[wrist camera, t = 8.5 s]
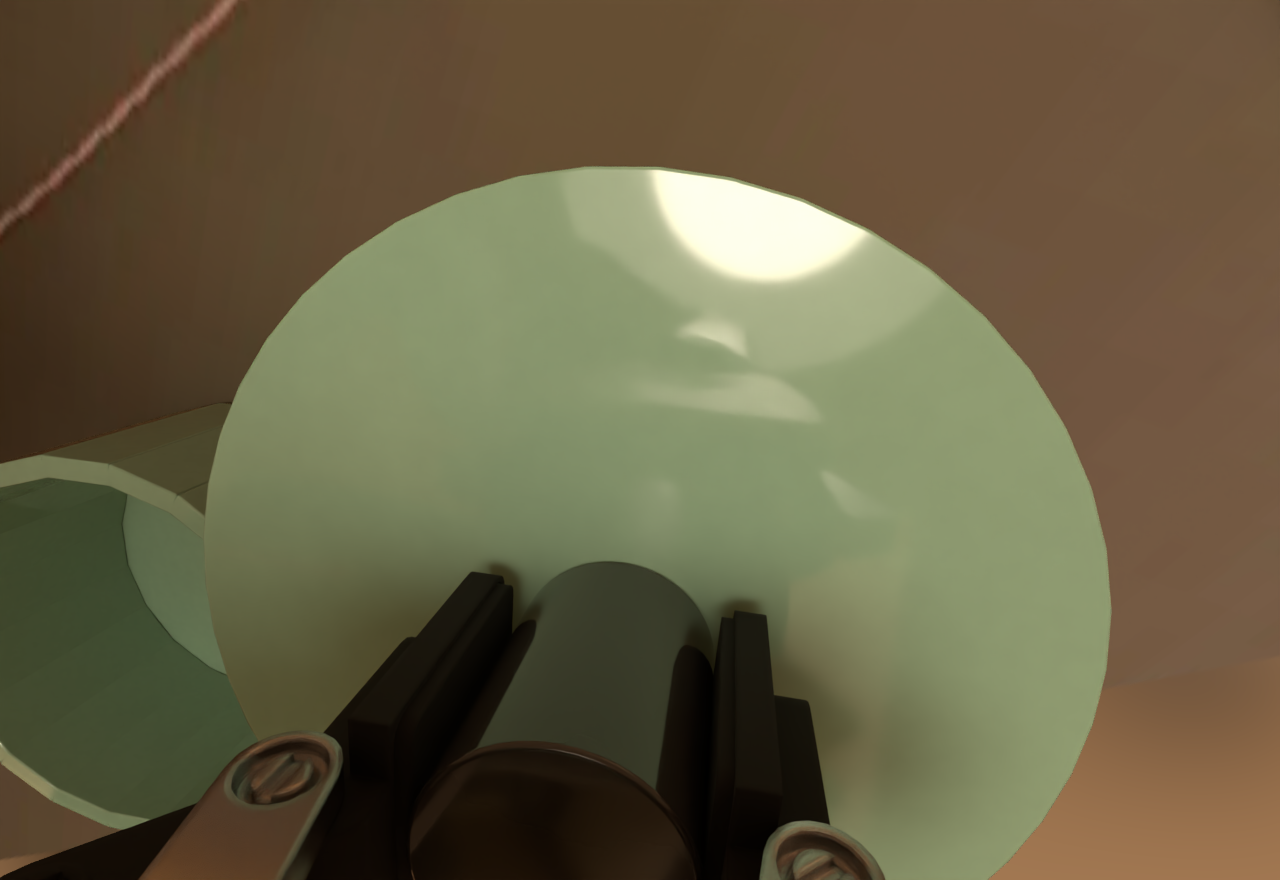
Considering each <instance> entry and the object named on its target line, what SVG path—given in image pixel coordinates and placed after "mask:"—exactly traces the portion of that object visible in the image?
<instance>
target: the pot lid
mask: <svg viewBox="0 0 1280 880" xmlns="http://www.w3.org/2000/svg"><path fill="white" fill-rule="evenodd" d="M203 539H204V561H205V584H206V590H207V595H208V601H209V607H210V612H211V618H212V624H213V629H214V634H215V637H216V640H217V644H218V647H219V650H220V653H221V657H222V660H223V663H224V666H225V670H226V673H227V676H228V679H229V681H230V684H231V686H232V688H233V691H234V693H235V695H236V697H237V700H238V702H239V704H240V706H241V709H242V711H243V713H244V715H245V718H246V720H247V722H248V724H249V726H250V727H251V729H252V731H253V733H254V734H255V736H256V738H257V739H258V741H260V740H263V739H265V738H267V737H270V736H272V735H276V734H280V733H284V732H289V731H300V730H310V731H316V732H322V733H323V732H324V731H325V730H326V729H327V728H328V726H329V725H330V724H331V723H332V722H333V721H334V720H335V718H336V717H337V716H338V715H339V714H340V713H341V711H342V710H343V709H344V708H345V707H346V706H347V704H348V703H349V702H350V701H351V700H352V699H353V697H354V696H355V695H356V694H357V693H358V692H359V691H360V689H361V688H362V687H363V686H364V685H365V684H366V682H367V681H368V680H369V679H370V678H371V677H372V675H373V674H374V673H375V672H376V671H377V670H378V669H379V667H380V666H381V665H382V664H383V663H384V662H385V660H386V659H387V658H388V657H389V656H390V655H391V653H392V652H393V651H394V650H395V649H396V648H397V647H398V645H399V644H400V643H401V642H402V641H403V640H404V639H406V638H407V637H416V636H417V635H418V634H419V633H420V632H421V630H422V629H423V628H424V627H425V626H426V624H427V623H428V622H429V621H430V620H431V618H432V617H433V616H434V615H435V614H436V612H437V611H438V610H439V609H440V608H441V606H442V605H443V604H444V603H445V602H446V600H447V599H448V598H449V597H450V596H451V594H452V593H453V592H454V591H455V590H456V589H457V587H458V586H459V585H460V584H461V583H462V581H463V580H464V579H465V578H466V577H467V575H468V574H469V573H470V572H480V573H487V574H494V575H500V576H503V578H504V582H505V584H506V585H512V587H513V594H514V595H513V622H512V635H511V637H510V638H509V640H508V642H507V644H506V645H505V647H504V649H503V650H502V652H501V654H500V655H499V657H498V659H497V661H496V662H495V664H494V666H493V667H492V669H491V671H490V672H489V674H488V676H487V678H486V679H485V681H484V683H483V684H482V686H481V688H480V689H479V691H478V693H477V695H476V696H475V698H474V700H473V701H472V703H471V705H470V706H469V708H468V710H467V712H466V713H465V715H464V717H463V718H462V720H461V722H460V723H459V725H458V727H457V729H456V730H455V732H454V734H453V735H452V737H451V739H450V740H449V742H448V744H447V746H446V747H445V749H444V751H443V752H442V754H441V756H440V757H439V759H438V761H437V763H436V764H435V766H434V768H433V769H432V771H431V773H430V775H429V776H428V778H427V780H426V781H425V783H424V785H423V786H422V788H421V790H420V792H419V793H418V795H417V797H416V799H415V801H414V804H413V806H412V809H411V811H410V816H409V820H408V824H407V837H406V850H407V860H408V864H409V868H410V872H411V876H412V878H413V880H704V858H705V837H706V817H707V796H708V776H709V755H710V734H711V714H712V693H713V674H714V667H715V660H716V652H717V645H718V638H719V631H720V624H721V618H722V617H727V618H733V616H734V611H735V610H737V611H743V612H750V613H757V614H763V615H766V616H767V624H768V635H769V646H770V657H771V668H772V679H773V690H774V695H778V696H784V697H790V698H796V699H802V700H807V701H808V702H809V705H810V709H811V715H812V721H813V727H814V733H815V738H816V744H817V750H818V756H819V762H820V768H821V774H822V780H823V786H824V791H825V797H826V803H827V809H828V815H829V821H830V826H833V827H835V828H837V829H840V830H842V831H844V832H846V833H847V834H849V835H850V836H851V837H853V838H854V839H856V840H857V841H859V842H860V843H861V844H862V845H863V846H864V847H865V848H866V849H867V850H868V851H869V852H870V854H871V855H872V856H873V857H874V858H875V859H876V861H877V863H878V865H879V866H880V868H881V870H882V872H883V873H884V876H885V880H988V879H989V878H990V877H992V876H993V875H994V874H995V873H996V872H997V871H998V870H999V869H1000V868H1001V867H1003V866H1004V865H1005V864H1006V863H1007V862H1008V861H1009V860H1010V859H1011V858H1012V857H1013V855H1014V854H1015V853H1016V852H1017V851H1018V850H1019V848H1020V847H1021V846H1022V845H1023V844H1024V842H1025V841H1026V840H1027V839H1028V838H1029V837H1030V835H1031V834H1032V833H1033V832H1034V831H1035V829H1036V828H1037V827H1038V826H1039V824H1040V823H1041V822H1042V821H1043V820H1044V818H1045V816H1046V815H1047V813H1048V811H1049V810H1050V808H1051V807H1052V805H1053V804H1054V802H1055V800H1056V799H1057V797H1058V795H1059V794H1060V792H1061V791H1062V789H1063V787H1064V786H1065V784H1066V782H1067V781H1068V779H1069V778H1070V776H1071V774H1072V772H1073V770H1074V767H1075V765H1076V762H1077V760H1078V758H1079V755H1080V753H1081V751H1082V748H1083V746H1084V744H1085V741H1086V739H1087V737H1088V734H1089V732H1090V730H1091V727H1092V725H1093V721H1094V717H1095V713H1096V709H1097V705H1098V701H1099V697H1100V693H1101V689H1102V685H1103V681H1104V677H1105V673H1106V669H1107V658H1108V646H1109V634H1110V622H1111V599H1110V586H1109V573H1108V560H1107V549H1106V545H1105V541H1104V537H1103V533H1102V529H1101V524H1100V520H1099V516H1098V512H1097V508H1096V504H1095V500H1094V496H1093V492H1092V488H1091V485H1090V483H1089V480H1088V478H1087V476H1086V473H1085V471H1084V469H1083V466H1082V464H1081V461H1080V459H1079V457H1078V454H1077V452H1076V450H1075V447H1074V445H1073V442H1072V440H1071V438H1070V435H1069V433H1068V430H1067V428H1066V426H1065V425H1064V423H1063V421H1062V420H1061V418H1060V417H1059V415H1058V413H1057V412H1056V410H1055V408H1054V407H1053V405H1052V404H1051V402H1050V400H1049V399H1048V397H1047V395H1046V394H1045V392H1044V391H1043V389H1042V387H1041V386H1040V384H1039V382H1038V381H1037V379H1036V378H1035V376H1034V374H1033V373H1032V371H1031V370H1030V368H1029V367H1028V366H1027V365H1026V364H1025V362H1024V361H1023V360H1022V359H1021V358H1020V357H1019V355H1018V354H1017V353H1016V352H1015V351H1014V350H1013V348H1012V347H1011V346H1010V345H1009V344H1008V342H1007V341H1006V340H1005V339H1004V338H1003V337H1002V335H1001V334H1000V333H999V332H998V331H997V330H996V328H995V327H994V326H993V325H992V324H991V322H990V321H989V320H988V319H987V318H986V317H985V316H984V315H983V314H982V313H981V312H980V311H979V310H978V309H976V308H975V307H974V306H973V305H972V304H971V303H970V302H968V301H967V300H966V299H965V298H964V297H963V296H962V295H960V294H959V293H958V292H957V291H956V290H955V289H953V288H952V287H951V286H950V285H949V284H948V283H947V282H945V281H944V280H943V279H942V278H941V277H940V276H939V275H937V274H936V273H935V272H934V271H933V270H932V269H931V268H929V267H927V266H926V265H924V264H923V263H921V262H920V261H918V260H917V259H915V258H914V257H912V256H910V255H909V254H907V253H906V252H904V251H903V250H901V249H900V248H898V247H896V246H895V245H893V244H892V243H890V242H889V241H887V240H886V239H884V238H883V237H881V236H879V235H878V234H876V233H875V232H873V231H872V230H870V229H868V228H866V227H864V226H862V225H860V224H857V223H855V222H853V221H851V220H849V219H847V218H844V217H842V216H840V215H838V214H836V213H833V212H831V211H829V210H827V209H825V208H823V207H820V206H818V205H816V204H814V203H812V202H809V201H807V200H805V199H803V198H800V197H797V196H793V195H790V194H787V193H783V192H780V191H777V190H773V189H770V188H766V187H763V186H760V185H756V184H753V183H750V182H746V181H743V180H740V179H736V178H733V177H728V176H721V175H714V174H707V173H701V172H694V171H687V170H680V169H674V168H667V167H660V166H585V167H577V168H570V169H563V170H556V171H549V172H541V173H534V174H527V175H520V176H516V177H513V178H510V179H506V180H503V181H499V182H496V183H492V184H489V185H486V186H482V187H479V188H475V189H472V190H468V191H465V192H462V193H458V194H455V195H453V196H451V197H449V198H447V199H444V200H442V201H440V202H438V203H436V204H434V205H431V206H429V207H427V208H425V209H423V210H421V211H418V212H416V213H414V214H412V215H410V216H408V217H405V218H403V219H401V220H399V221H397V222H396V223H394V224H392V225H391V226H389V227H388V228H386V229H385V230H383V231H382V232H380V233H379V234H377V235H376V236H374V237H373V238H371V239H370V240H368V241H367V242H365V243H364V244H362V245H361V246H359V247H358V248H356V249H355V250H353V251H352V252H350V253H349V254H347V255H346V256H345V257H344V258H343V259H341V260H340V261H339V262H338V263H337V264H336V265H335V266H334V267H333V268H331V269H330V270H329V271H328V272H327V273H326V274H325V275H324V276H323V277H322V278H320V279H319V280H318V281H317V282H316V283H315V284H314V285H313V286H312V287H310V288H309V289H308V290H307V291H306V292H305V293H304V294H303V295H302V296H301V297H300V299H299V300H298V301H297V302H296V303H295V305H294V306H293V307H292V308H291V310H290V311H289V312H288V313H287V315H286V316H285V317H284V318H283V319H282V321H281V322H280V323H279V324H278V326H277V327H276V328H275V329H274V331H273V332H272V333H271V334H270V335H269V337H268V338H267V339H266V341H265V343H264V344H263V346H262V348H261V350H260V351H259V353H258V355H257V356H256V358H255V360H254V361H253V363H252V365H251V367H250V368H249V370H248V372H247V373H246V375H245V377H244V379H243V380H242V382H241V384H240V385H239V388H238V390H237V393H236V395H235V398H234V400H233V403H232V405H231V408H230V410H229V413H228V415H227V418H226V420H225V423H224V425H223V428H222V430H221V433H220V436H219V440H218V444H217V448H216V453H215V457H214V461H213V465H212V469H211V474H210V478H209V482H208V489H207V500H206V511H205V522H204V533H203Z"/></svg>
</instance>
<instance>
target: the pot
mask: <svg viewBox="0 0 1280 880" xmlns="http://www.w3.org/2000/svg"><path fill="white" fill-rule="evenodd" d="M231 405H232V403H216V404H211V405H207V406H203V407H199V408H194V409H190V410H186V411H181V412H177V413H173V414H169V415H165V416H162V417H158V418H155V419H151V420H148V421H144V422H141V423H137V424H134V425H130V426H127V427H123V428H120V429H116V430H113V431H109V432H106V433H102V434H99V435H95V436H92V437H88V438H85V439H81V440H78V441H74V442H70V443H67V444H63V445H60V446H56V447H53V448H49V449H46V450H42V451H39V452H35V453H32V454H28V455H25V456H21V457H18V458H14V459H11V460H7V461H4V462H0V762H1V764H2V765H3V766H4V767H6V768H7V769H9V770H10V771H11V772H13V773H14V774H15V775H17V776H18V777H19V778H21V779H22V780H23V781H25V782H26V783H28V784H29V785H30V786H32V787H33V788H34V789H36V790H37V791H38V792H40V793H41V794H42V795H44V796H45V797H46V798H48V799H49V800H52V801H53V802H54V803H56V804H59V805H61V806H63V807H65V808H68V809H70V810H72V811H74V812H76V813H79V814H81V815H83V816H85V817H87V818H90V819H92V820H94V821H96V822H98V823H101V824H103V825H105V826H109V827H111V828H116V829H121V830H124V829H127V828H129V827H132V826H135V825H138V824H140V823H143V822H146V821H149V820H151V819H154V818H157V817H160V816H162V815H165V814H168V813H171V812H173V811H176V810H179V809H182V808H184V807H187V806H190V805H193V804H195V803H198V801H199V800H200V799H201V797H202V796H203V795H204V794H205V792H206V791H207V790H208V788H209V787H210V786H211V784H212V783H213V782H214V781H215V779H216V778H217V777H218V775H219V774H220V773H221V771H222V770H223V769H224V768H225V766H226V765H227V764H228V763H229V762H230V761H231V760H232V759H233V758H234V757H235V756H236V755H237V754H238V753H240V752H241V751H243V750H245V749H246V748H248V747H249V746H251V745H252V744H254V743H256V742H258V739H257V738H256V736H255V734H254V733H253V731H252V729H251V727H250V726H249V724H248V722H247V720H246V718H245V715H244V713H243V711H242V709H241V706H240V704H239V702H238V700H237V697H236V695H235V693H234V691H233V688H232V686H231V684H230V681H229V679H228V676H227V673H226V670H225V666H224V663H223V660H222V657H221V653H220V650H219V647H218V644H217V640H216V637H215V634H214V629H213V624H212V618H211V612H210V607H209V601H208V595H207V590H206V584H205V561H204V539H203V533H204V522H205V511H206V500H207V489H208V482H209V478H210V474H211V469H212V465H213V461H214V457H215V453H216V448H217V444H218V440H219V436H220V433H221V430H222V428H223V425H224V423H225V420H226V418H227V415H228V413H229V410H230V408H231Z"/></svg>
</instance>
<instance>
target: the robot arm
mask: <svg viewBox="0 0 1280 880" xmlns="http://www.w3.org/2000/svg"><path fill="white" fill-rule="evenodd" d="M513 595H514V594H513V587H512V585H506V584H505V582H504V578H503V576H500V575H494V574H487V573H480V572H470V573H469V574H468V575H467V577H466V578H465V579H464V580H463V581H462V583H461V584H460V585H459V586H458V587H457V589H456V590H455V591H454V592H453V593H452V594H451V596H450V597H449V598H448V599H447V600H446V602H445V603H444V604H443V605H442V606H441V608H440V609H439V610H438V611H437V612H436V614H435V615H434V616H433V617H432V618H431V620H430V621H429V622H428V623H427V624H426V626H425V627H424V628H423V629H422V630H421V632H420V633H419V634H418V635H417V636H416V637H407V638H406V639H404V640H403V641H402V642H401V643H400V644H399V645H398V647H397V648H396V649H395V650H394V651H393V652H392V653H391V655H390V656H389V657H388V658H387V659H386V660H385V662H384V663H383V664H382V665H381V666H380V667H379V669H378V670H377V671H376V672H375V673H374V674H373V675H372V677H371V678H370V679H369V680H368V681H367V682H366V684H365V685H364V686H363V687H362V688H361V689H360V691H359V692H358V693H357V694H356V695H355V696H354V697H353V699H352V700H351V701H350V702H349V703H348V704H347V706H346V707H345V708H344V709H343V710H342V711H341V713H340V714H339V715H338V716H337V717H336V718H335V720H334V721H333V722H332V723H331V724H330V725H329V726H328V728H327V729H326V730H325V731H324V732H323V733H322V732H316V731H310V730H300V731H289V732H284V733H280V734H276V735H272V736H270V737H267V738H265V739H263V740H260V741H258V742H256V743H254V744H252V745H251V746H249V747H248V748H246V749H245V750H243V751H241V752H240V753H238V754H237V755H236V756H235V757H234V758H233V759H232V760H231V761H230V762H229V763H228V764H227V765H226V766H225V768H224V769H223V770H222V771H221V773H220V774H219V775H218V777H217V778H216V779H215V781H214V782H213V783H212V784H211V786H210V787H209V788H208V790H207V791H206V792H205V794H204V795H203V796H202V797H201V799H200V800H199V801H198V803H195V804H193V805H190V806H187V807H184V808H182V809H179V810H176V811H173V812H171V813H168V814H165V815H162V816H160V817H157V818H154V819H151V820H149V821H146V822H143V823H140V824H138V825H135V826H132V827H129V828H127V829H124V830H121V831H118V832H116V833H113V834H110V835H107V836H105V837H102V838H99V839H96V840H94V841H91V842H88V843H85V844H83V845H80V846H77V847H74V848H72V849H69V850H66V851H63V852H61V853H58V854H55V855H52V856H50V857H47V858H44V859H41V860H39V861H36V862H33V863H30V864H28V865H26V866H24V867H22V868H19V869H17V870H15V871H12V872H10V873H8V874H6V875H4V876H2V877H1V878H0V880H413V878H412V876H411V872H410V868H409V864H408V860H407V850H406V837H407V824H408V820H409V816H410V811H411V809H412V806H413V804H414V801H415V799H416V797H417V795H418V793H419V792H420V790H421V788H422V786H423V785H424V783H425V781H426V780H427V778H428V776H429V775H430V773H431V771H432V769H433V768H434V766H435V764H436V763H437V761H438V759H439V757H440V756H441V754H442V752H443V751H444V749H445V747H446V746H447V744H448V742H449V740H450V739H451V737H452V735H453V734H454V732H455V730H456V729H457V727H458V725H459V723H460V722H461V720H462V718H463V717H464V715H465V713H466V712H467V710H468V708H469V706H470V705H471V703H472V701H473V700H474V698H475V696H476V695H477V693H478V691H479V689H480V688H481V686H482V684H483V683H484V681H485V679H486V678H487V676H488V674H489V672H490V671H491V669H492V667H493V666H494V664H495V662H496V661H497V659H498V657H499V655H500V654H501V652H502V650H503V649H504V647H505V645H506V644H507V642H508V640H509V638H510V637H511V635H512V622H513ZM704 880H885V876H884V873H883V872H882V870H881V868H880V866H879V865H878V863H877V861H876V859H875V858H874V857H873V856H872V855H871V854H870V852H869V851H868V850H867V849H866V848H865V847H864V846H863V845H862V844H861V843H860V842H859V841H857V840H856V839H854V838H853V837H851V836H850V835H849V834H847V833H846V832H844V831H842V830H840V829H837V828H835V827H833V826H830V821H829V815H828V809H827V803H826V797H825V791H824V786H823V780H822V774H821V768H820V762H819V756H818V750H817V744H816V738H815V733H814V727H813V721H812V715H811V709H810V705H809V702H808V701H807V700H802V699H796V698H790V697H784V696H778V695H774V690H773V679H772V668H771V657H770V646H769V635H768V624H767V616H766V615H763V614H757V613H750V612H743V611H737V610H735V611H734V616H733V618H727V617H722V618H721V624H720V631H719V638H718V645H717V652H716V660H715V667H714V674H713V693H712V714H711V734H710V755H709V776H708V796H707V817H706V837H705V858H704Z"/></svg>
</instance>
